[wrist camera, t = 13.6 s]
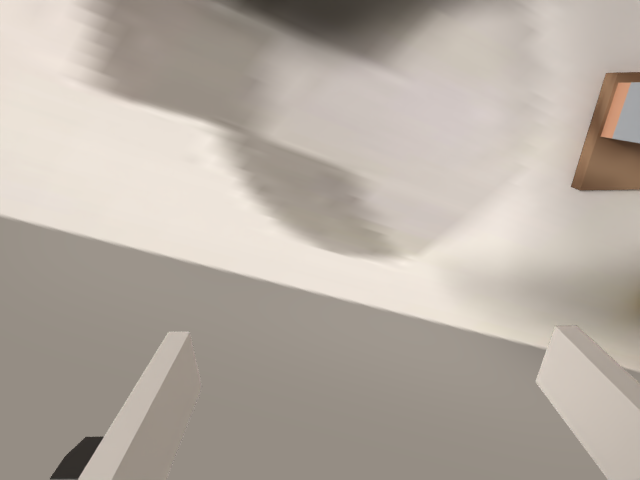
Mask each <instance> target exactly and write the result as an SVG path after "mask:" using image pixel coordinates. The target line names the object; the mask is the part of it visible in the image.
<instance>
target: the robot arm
mask: <svg viewBox="0 0 640 480" xmlns="http://www.w3.org/2000/svg"><path fill="white" fill-rule="evenodd" d="M536 383H537V384H538V386H539V387H540V389H541V390H542V391H543V393H544V394H545V395H546V396H547V398H548V399H549V401H550V402H551V403H552V405H553V406H554V407H555V409H556V410H557V411H558V413H559V414H560V415H561V417H562V418H563V420H564V421H565V422H566V423H567V425H568V426H569V428H570V429H571V430H572V432H573V433H574V434H575V436H576V437H577V438H578V440H579V441H580V442H581V444H582V445H583V447H584V448H585V449H586V450H587V452H588V453H589V455H590V456H591V457H592V459H593V460H594V461H595V462H596V464H597V465H598V467H599V468H600V469H601V471H602V472H603V474H604V475H605V476H606V478H607V479H608V480H640V383H639V382H638V381H637V380H636V379H635V378H633V377H632V376H631V375H630V374H629V373H628V372H627V371H626V370H625V369H624V368H623V367H621V366H620V365H619V364H618V363H617V362H616V361H615V360H614V359H613V358H612V357H611V356H609V355H608V354H607V353H606V352H605V351H604V350H603V349H602V348H601V347H600V346H599V345H597V344H596V343H595V342H594V341H593V340H592V339H591V338H590V337H589V336H588V335H587V334H585V333H584V332H583V331H582V330H581V329H580V328H579V327H578V326H577V325H566V326H555V328H554V330H553V333H552V336H551V339H550V342H549V345H548V348H547V350H546V353H545V356H544V359H543V362H542V365H541V367H540V370H539V373H538V376H537V379H536ZM201 389H202V384H201V380H200V375H199V371H198V366H197V362H196V358H195V353H194V349H193V344H192V340H191V336H190V332H168V333H167V335H166V337H165V338H164V340H163V342H162V343H161V345H160V347H159V348H158V350H157V351H156V353H155V355H154V356H153V358H152V360H151V361H150V363H149V364H148V366H147V368H146V369H145V371H144V372H143V374H142V376H141V377H140V379H139V381H138V382H137V384H136V385H135V387H134V389H133V390H132V392H131V394H130V395H129V397H128V399H127V400H126V402H125V403H124V405H123V407H122V408H121V410H120V412H119V413H118V415H117V417H116V418H115V420H114V422H113V423H112V425H111V426H110V428H109V430H108V431H107V433H106V435H105V436H104V437H85V438H84V439H83V440H82V441H81V442H80V443H79V444H78V445H77V446H76V447H75V448H74V449H72V450H71V451H70V452H69V453H68V454H67V455H66V456H65V457H64V459H63V460H62V462H61V463H60V465H59V466H58V468H57V469H56V471H55V472H54V473H53V475H52V476H51V478H50V480H166V479H167V477H168V474H169V472H170V469H171V467H172V464H173V461H174V459H175V456H176V453H177V451H178V448H179V446H180V443H181V441H182V438H183V435H184V433H185V430H186V428H187V425H188V423H189V420H190V417H191V415H192V412H193V409H194V407H195V405H196V402H197V399H198V397H199V394H200V392H201Z"/></svg>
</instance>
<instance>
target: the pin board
mask: <svg viewBox="0 0 640 480" xmlns="http://www.w3.org/2000/svg"><path fill="white" fill-rule="evenodd" d="M630 82H640V72H627V73H606V75H605V78H604V82H603V85H602V88H601V91H600V95H599V98H598V101H597V104H596V107H595V111H594V114H593V117H592V120H591V124H590V127H589V130H588V133H587V137H586V140H585V143H584V146H583V149H582V153H581V156H580V159H579V162H578V166H577V169H576V172H575V175H574V179H573V182H572V185H571V187H573V188H576V189H578V190H626V189H640V143H635V142H629V141H623V140H617V139H612V138H606V137H601V134H602V131H603V128H604V125H605V122H606V119H607V116H608V113H609V110H610V107H611V103H612V100H613V97H614V94H615V91H616V88H617V85H618V83H630Z"/></svg>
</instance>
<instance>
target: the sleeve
mask: <svg viewBox="0 0 640 480" xmlns="http://www.w3.org/2000/svg"><path fill="white" fill-rule="evenodd" d="M601 137H606V138H612V139H617V140H623V141H629V142H635V143H640V82H630V83H618V85H617V88H616V91H615V94H614V97H613V100H612V103H611V107H610V110H609V113H608V116H607V119H606V122H605V125H604V128H603V131H602V134H601Z"/></svg>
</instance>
